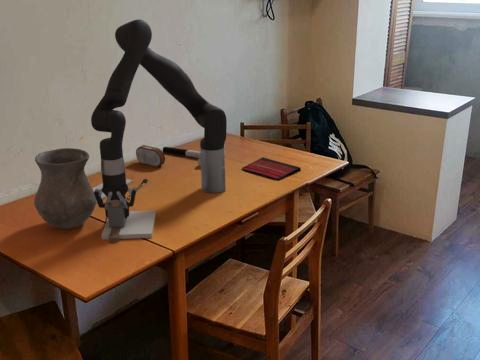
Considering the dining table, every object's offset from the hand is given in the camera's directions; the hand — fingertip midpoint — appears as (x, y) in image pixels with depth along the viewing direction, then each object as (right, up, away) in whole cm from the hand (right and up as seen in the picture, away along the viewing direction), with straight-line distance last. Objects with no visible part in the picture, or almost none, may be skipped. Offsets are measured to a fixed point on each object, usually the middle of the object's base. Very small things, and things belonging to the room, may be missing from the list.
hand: (117, 217), depth 183 cm
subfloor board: (+4, -3, +2) cm, 5 cm away
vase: (-17, -3, +3) cm, 18 cm away
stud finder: (0, -1, 0) cm, 1 cm away
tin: (+1, +19, +59) cm, 62 cm away
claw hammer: (+19, +23, +71) cm, 77 cm away
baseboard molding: (-15, +7, +29) cm, 33 cm away
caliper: (+2, +8, +32) cm, 33 cm away
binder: (+54, +16, +52) cm, 77 cm away
